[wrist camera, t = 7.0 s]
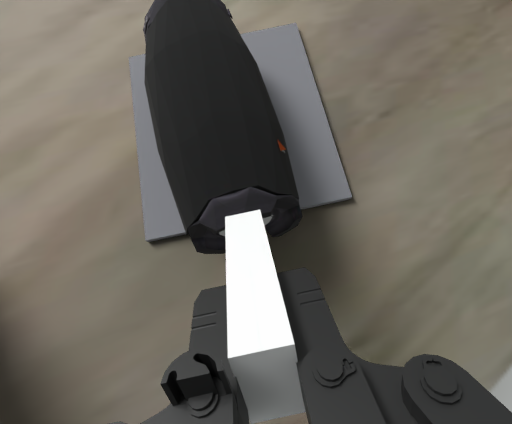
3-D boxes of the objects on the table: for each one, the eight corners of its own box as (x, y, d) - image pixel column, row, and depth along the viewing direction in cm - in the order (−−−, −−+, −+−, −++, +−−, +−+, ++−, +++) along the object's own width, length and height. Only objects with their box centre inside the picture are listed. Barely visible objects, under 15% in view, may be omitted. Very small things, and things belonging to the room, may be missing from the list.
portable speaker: (338, 207, 19) (256, 5, 26) (213, 214, 14) (146, -46, 20) (267, 248, 26) (215, 79, 32) (162, 264, 20) (123, 56, 26)
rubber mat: (350, 199, 25) (352, 196, 25) (148, 241, 25) (145, 240, 25) (295, 27, 31) (296, 22, 31) (131, 61, 31) (128, 57, 31)
